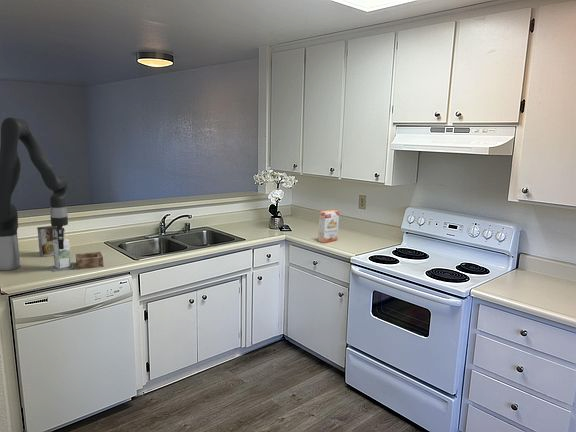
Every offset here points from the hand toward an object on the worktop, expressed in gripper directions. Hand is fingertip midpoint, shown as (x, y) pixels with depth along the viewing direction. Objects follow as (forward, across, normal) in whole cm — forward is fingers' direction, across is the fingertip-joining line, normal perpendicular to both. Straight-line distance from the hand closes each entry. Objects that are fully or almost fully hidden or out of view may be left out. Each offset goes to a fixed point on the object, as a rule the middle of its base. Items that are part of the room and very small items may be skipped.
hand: (61, 247), depth 210 cm
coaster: (+11, 0, 0) cm, 11 cm away
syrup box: (+11, 0, 0) cm, 11 cm away
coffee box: (+11, -30, -5) cm, 33 cm away
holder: (+11, 0, +13) cm, 17 cm away
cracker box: (+10, +8, +161) cm, 161 cm away
